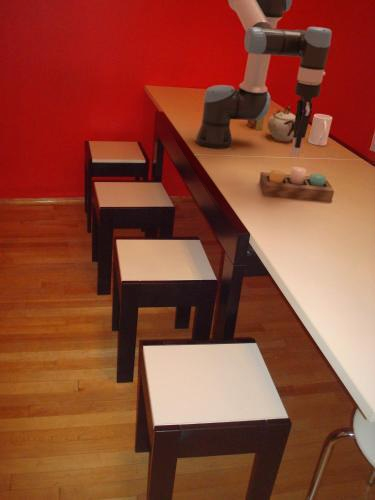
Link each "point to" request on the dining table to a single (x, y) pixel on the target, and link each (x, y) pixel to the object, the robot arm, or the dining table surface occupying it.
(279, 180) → the orange rounded ball
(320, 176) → the teal egg
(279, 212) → the dining table surface
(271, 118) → the sugar bowl
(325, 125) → the mug
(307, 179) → the wooden compartment tray
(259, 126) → the candy box
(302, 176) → the pink round piece
